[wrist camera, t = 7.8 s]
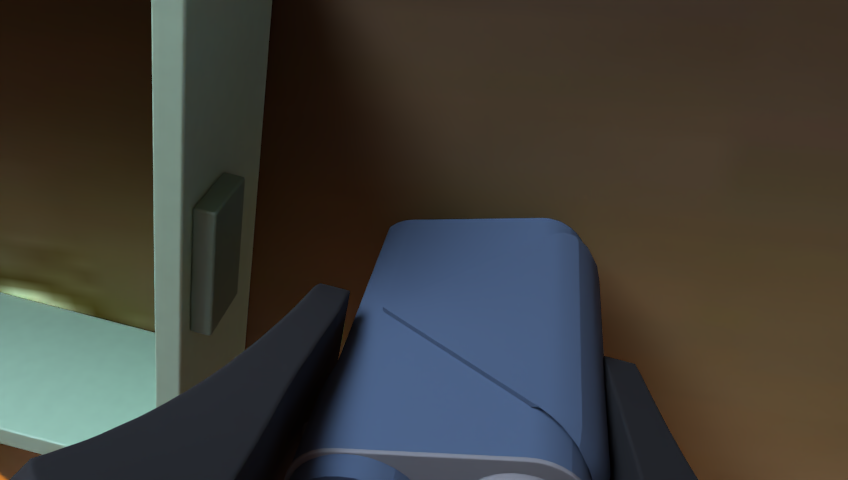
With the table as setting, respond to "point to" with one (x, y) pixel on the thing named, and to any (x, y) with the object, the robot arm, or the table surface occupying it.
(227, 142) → the storage box
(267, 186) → the table surface
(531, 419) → the vaping device
